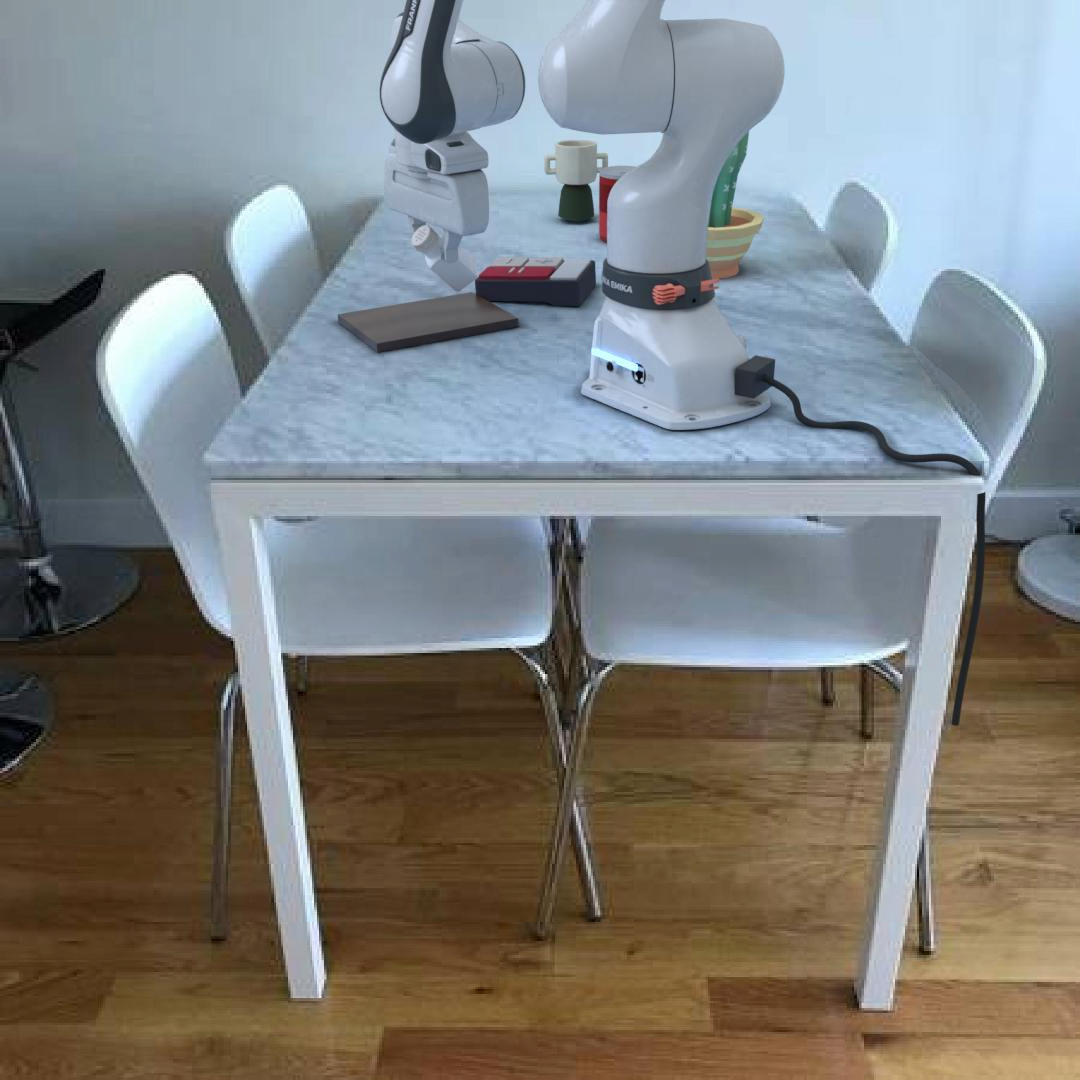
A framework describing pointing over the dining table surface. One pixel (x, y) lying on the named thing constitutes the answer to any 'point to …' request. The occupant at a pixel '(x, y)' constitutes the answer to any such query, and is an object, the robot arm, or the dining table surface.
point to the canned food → (606, 183)
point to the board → (426, 321)
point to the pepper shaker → (451, 273)
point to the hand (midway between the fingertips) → (436, 256)
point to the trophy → (576, 176)
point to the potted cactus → (730, 219)
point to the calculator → (537, 280)
